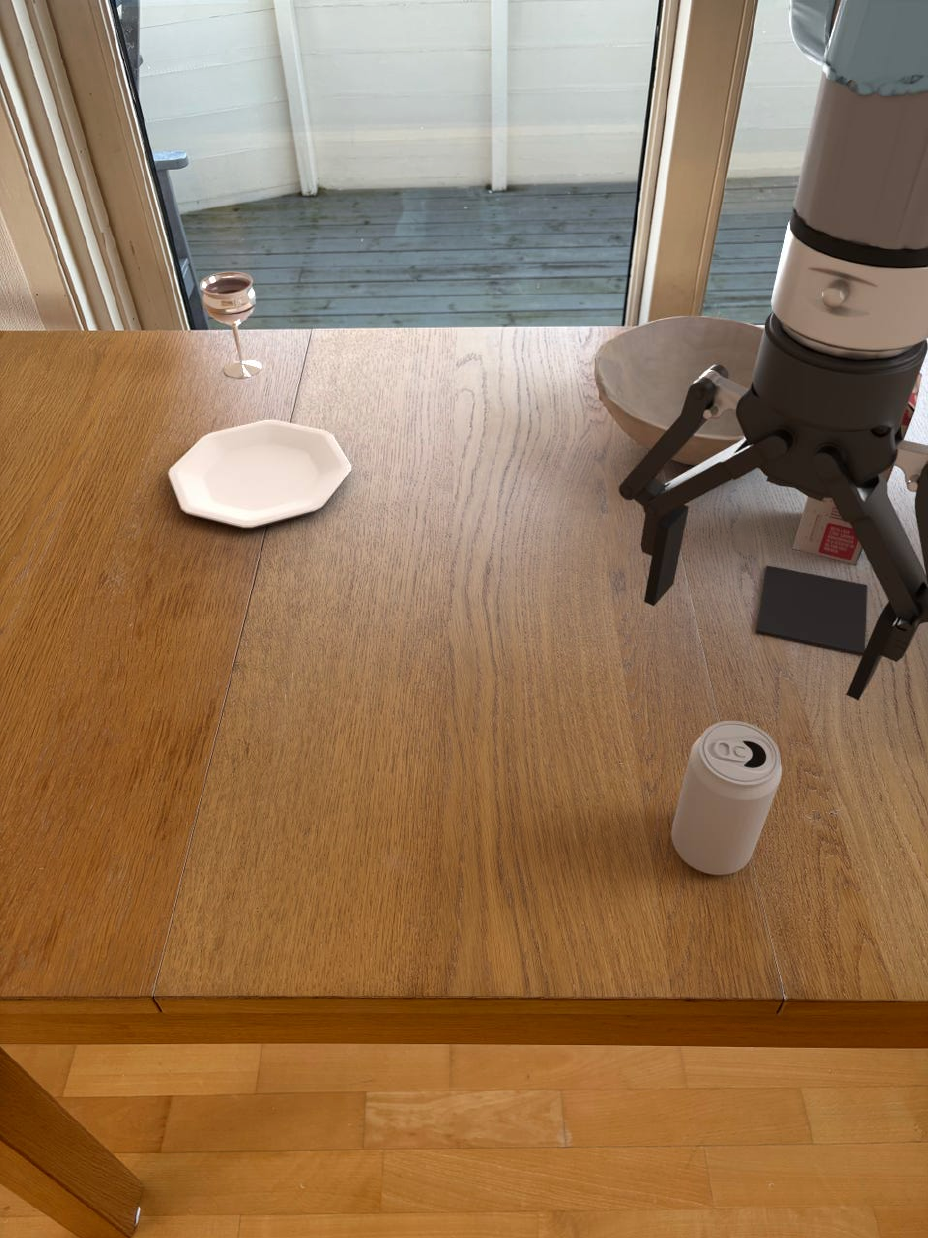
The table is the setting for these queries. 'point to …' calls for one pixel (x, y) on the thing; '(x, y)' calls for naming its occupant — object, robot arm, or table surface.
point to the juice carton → (838, 516)
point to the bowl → (674, 377)
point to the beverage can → (726, 797)
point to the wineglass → (231, 311)
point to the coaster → (813, 610)
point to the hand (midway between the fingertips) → (754, 636)
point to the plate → (259, 474)
